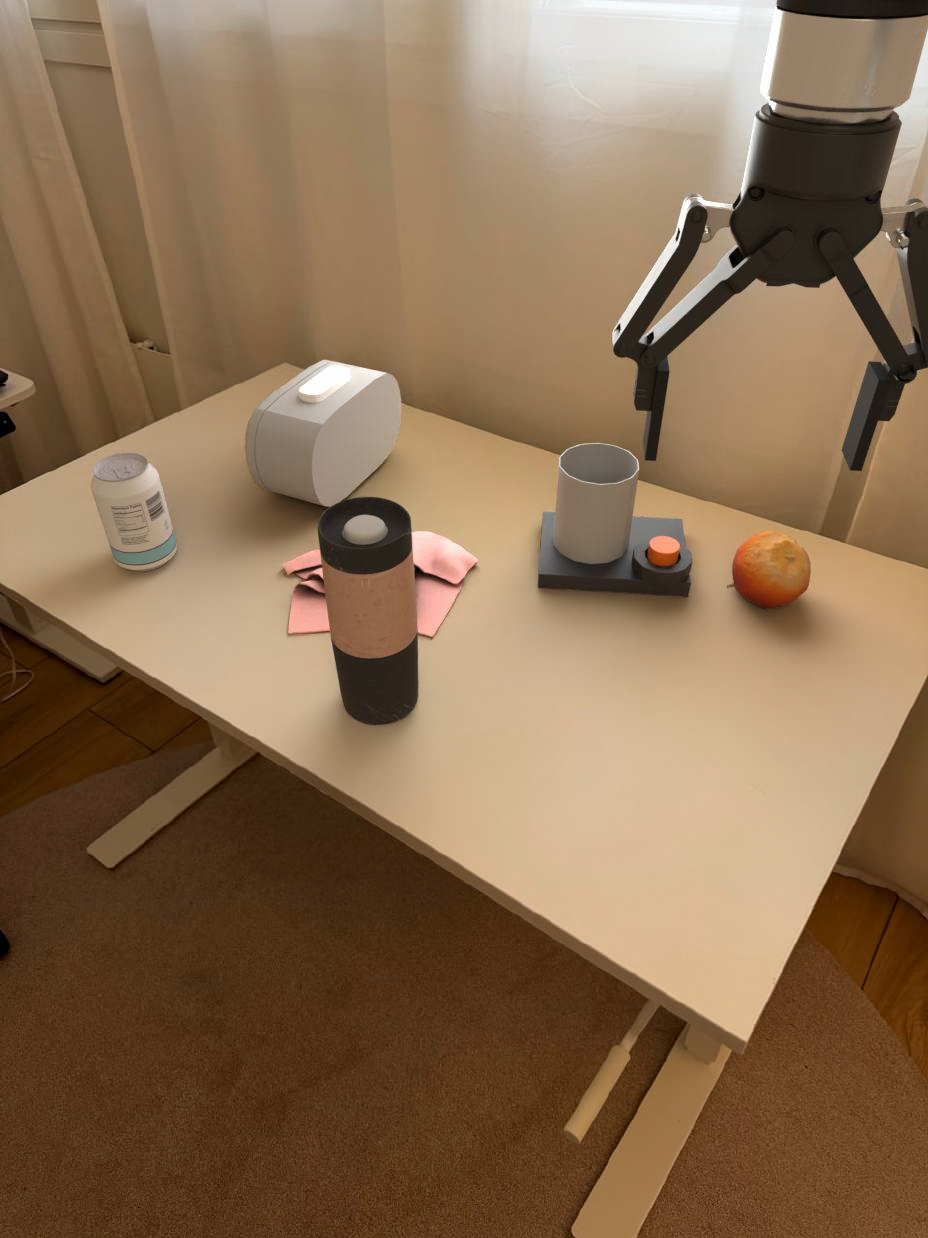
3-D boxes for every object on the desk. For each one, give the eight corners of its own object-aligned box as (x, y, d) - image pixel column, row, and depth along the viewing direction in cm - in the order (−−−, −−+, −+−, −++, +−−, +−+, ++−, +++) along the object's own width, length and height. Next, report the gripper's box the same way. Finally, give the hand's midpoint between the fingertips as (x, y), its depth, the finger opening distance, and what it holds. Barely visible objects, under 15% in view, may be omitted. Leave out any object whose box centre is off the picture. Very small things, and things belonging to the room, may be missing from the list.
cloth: (500, 555, 101) (500, 538, 99) (400, 676, 86) (399, 657, 84) (348, 509, 108) (346, 492, 106) (232, 613, 93) (228, 595, 92)
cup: (541, 528, 101) (545, 451, 95) (605, 513, 104) (614, 437, 97) (573, 571, 95) (581, 491, 89) (641, 554, 98) (654, 475, 91)
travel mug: (323, 696, 84) (296, 519, 71) (387, 658, 88) (372, 484, 75) (373, 741, 80) (354, 562, 67) (437, 699, 84) (432, 523, 71)
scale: (679, 532, 104) (684, 507, 102) (689, 600, 95) (694, 574, 92) (542, 524, 105) (543, 499, 103) (537, 591, 96) (539, 565, 94)
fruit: (744, 545, 99) (790, 509, 93) (787, 603, 98) (837, 571, 91) (697, 573, 96) (742, 539, 89) (742, 634, 94) (790, 604, 87)
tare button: (676, 549, 96) (678, 536, 95) (678, 567, 94) (681, 554, 93) (646, 548, 96) (648, 534, 95) (647, 566, 94) (650, 552, 93)
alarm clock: (343, 433, 122) (333, 338, 113) (403, 448, 119) (398, 352, 110) (253, 508, 108) (233, 407, 99) (319, 528, 105) (305, 425, 96)
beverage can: (165, 533, 104) (140, 442, 97) (189, 562, 100) (165, 469, 92) (107, 554, 101) (76, 462, 93) (129, 585, 97) (99, 491, 89)
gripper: (1048, 94, 49) (922, 436, 63) (594, 87, 51) (568, 420, 65) (1108, 126, 44) (955, 494, 57) (594, 117, 46) (566, 475, 60)
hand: (749, 456), depth 61 cm, fingers open, 13 cm apart
